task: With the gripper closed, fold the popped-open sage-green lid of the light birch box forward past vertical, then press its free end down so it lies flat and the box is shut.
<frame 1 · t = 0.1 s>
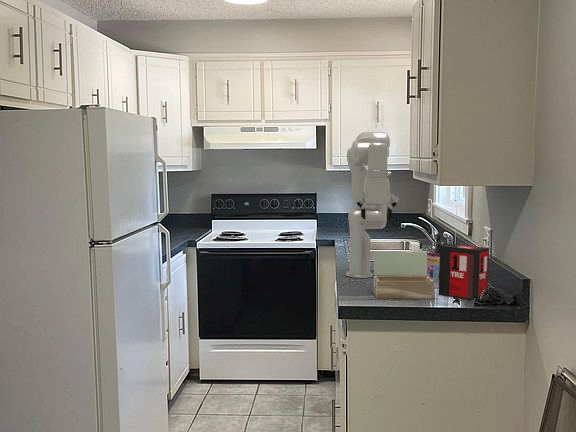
hand: (376, 219, 235), 31 cm above the worktop, tool pointing down, fingers open, 9 cm apart
cleaning product box: (462, 296, 242), on the worktop
gum box: (438, 287, 260), on the worktop
lid: (400, 263, 247), point 12 cm above the worktop, hinge at 100.0°
medicine bottle: (415, 265, 313), on the worktop
pump dispenser: (441, 271, 296), on the worktop
birch box: (402, 295, 242), on the worktop
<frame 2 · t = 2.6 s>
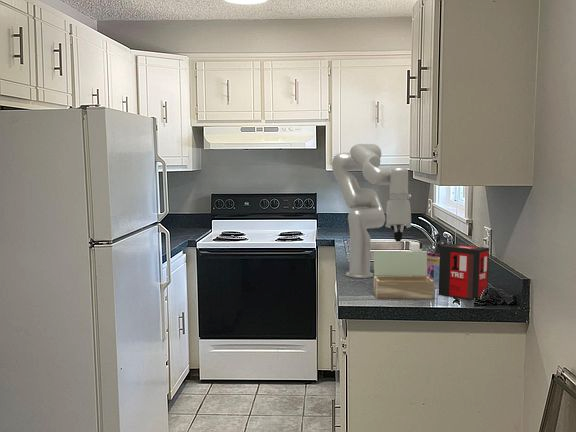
hand: (398, 241, 254), 20 cm above the worktop, tool pointing down, fingers closed
nothing on the worktop moved.
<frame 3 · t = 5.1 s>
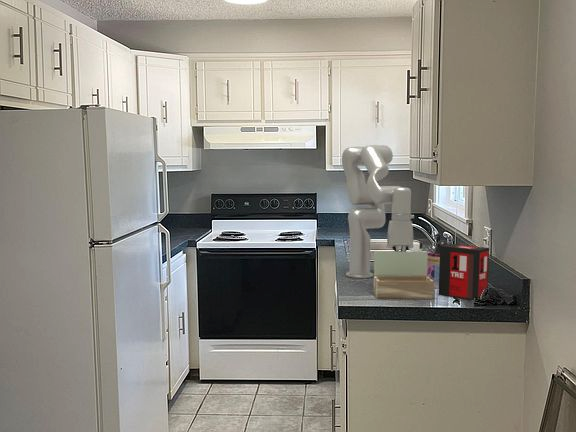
hand: (399, 262, 249), 12 cm above the worktop, tool pointing down, fingers closed
lid: (400, 263, 247), point 12 cm above the worktop, hinge at 93.8°, touching gripper
everything else where it was.
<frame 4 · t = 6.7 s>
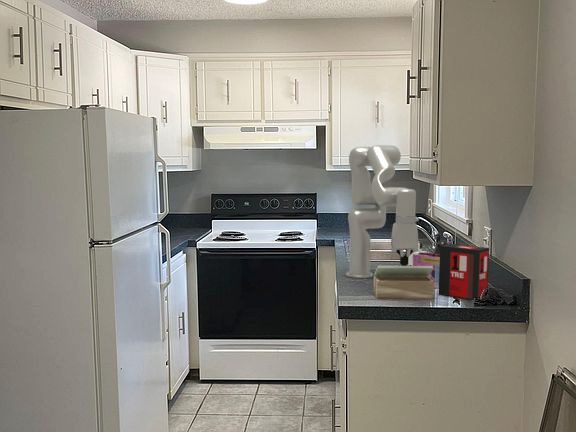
hand: (404, 266, 240), 12 cm above the worktop, tool pointing down, fingers closed
lid: (403, 271, 242), point 10 cm above the worktop, hinge at 30.4°, touching gripper
everything else where it was.
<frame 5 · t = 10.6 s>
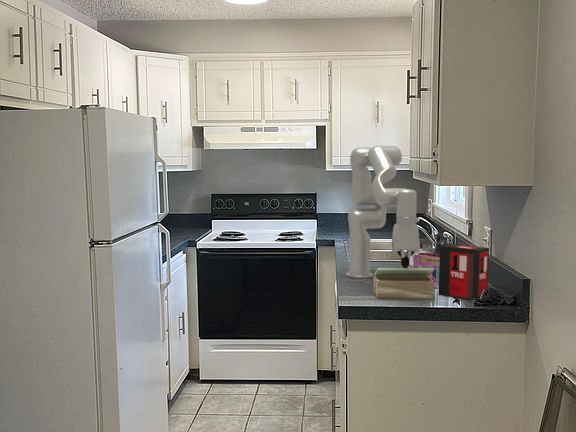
hand: (405, 267, 238), 12 cm above the worktop, tool pointing down, fingers closed
lid: (403, 272, 242), point 10 cm above the worktop, hinge at 25.4°, touching gripper
everything else where it was.
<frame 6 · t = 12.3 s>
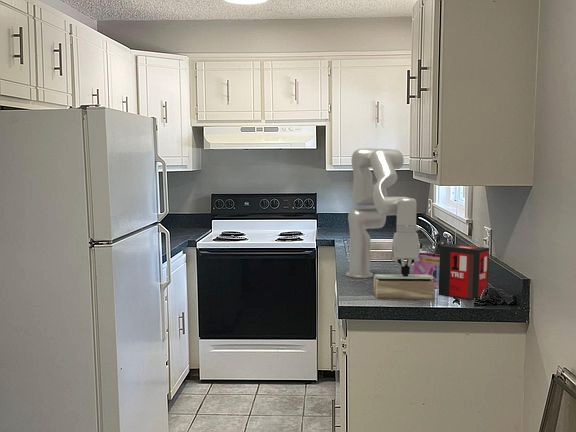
hand: (405, 276, 238), 9 cm above the worktop, tool pointing down, fingers closed
lid: (403, 276, 241), point 8 cm above the worktop, hinge at 5.7°, touching gripper
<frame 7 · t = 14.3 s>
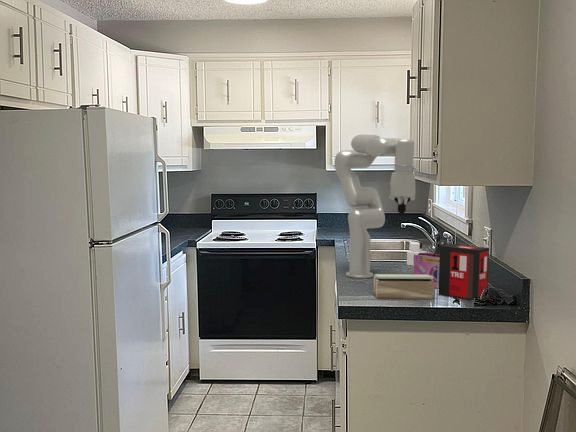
hand: (401, 213, 252), 32 cm above the worktop, tool pointing down, fingers closed
lid: (403, 276, 241), point 8 cm above the worktop, hinge at 5.6°
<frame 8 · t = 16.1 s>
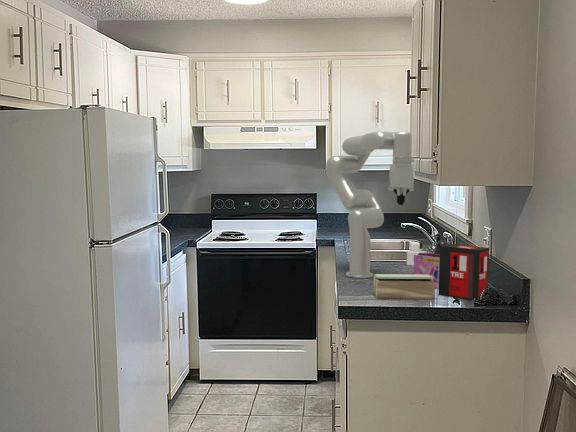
hand: (400, 204, 258), 35 cm above the worktop, tool pointing down, fingers closed
at the end: lid at +6° (first picture: +100°) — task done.
